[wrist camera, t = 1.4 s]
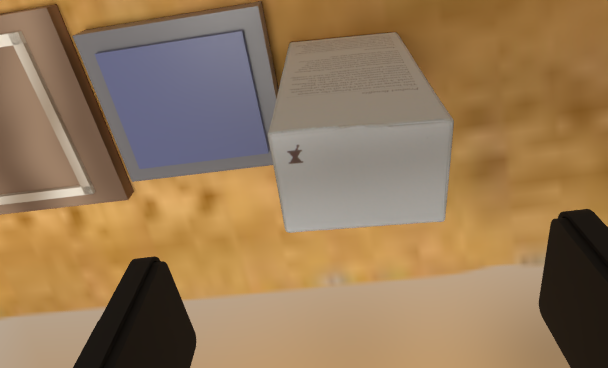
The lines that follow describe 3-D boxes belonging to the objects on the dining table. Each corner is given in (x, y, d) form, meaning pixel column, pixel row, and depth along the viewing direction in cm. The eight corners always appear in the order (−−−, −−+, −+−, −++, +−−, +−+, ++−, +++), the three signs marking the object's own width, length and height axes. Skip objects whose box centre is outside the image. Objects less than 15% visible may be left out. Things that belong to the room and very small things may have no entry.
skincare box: (297, 113, 27) (280, 236, 17) (288, 40, 25) (262, 130, 14) (400, 104, 26) (448, 226, 16) (400, 29, 24) (456, 114, 14)
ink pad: (261, 1, 24) (256, 7, 22) (290, 152, 28) (288, 166, 27) (84, 29, 25) (68, 37, 23) (140, 170, 29) (129, 184, 28)
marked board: (56, 4, 24) (43, 8, 23) (133, 191, 30) (126, 202, 29) (-139, 37, 25) (-160, 43, 24) (-27, 210, 31) (-40, 221, 30)
